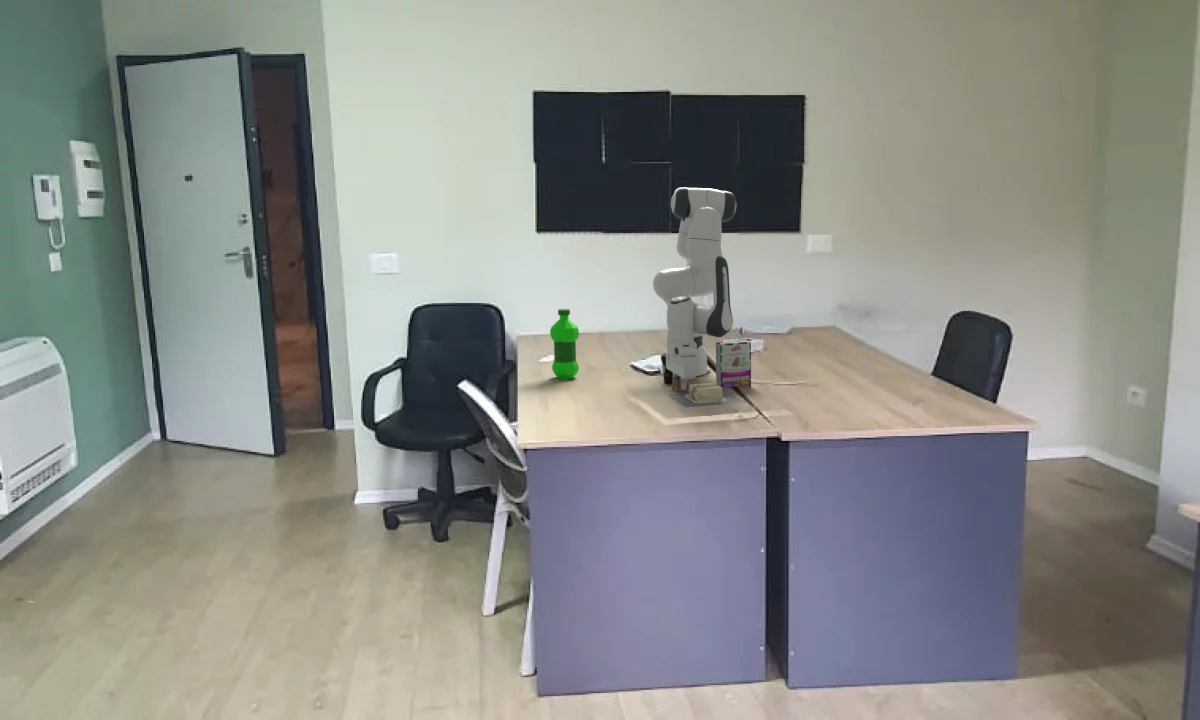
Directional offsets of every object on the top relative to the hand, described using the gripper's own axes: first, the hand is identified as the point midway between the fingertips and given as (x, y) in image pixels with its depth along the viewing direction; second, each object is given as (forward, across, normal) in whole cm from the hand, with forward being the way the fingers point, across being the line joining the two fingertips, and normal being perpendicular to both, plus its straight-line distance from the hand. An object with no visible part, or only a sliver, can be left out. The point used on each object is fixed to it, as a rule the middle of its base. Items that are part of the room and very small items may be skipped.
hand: (680, 387), depth 309 cm
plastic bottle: (+3, -40, -30) cm, 50 cm away
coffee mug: (+3, -21, +5) cm, 22 cm away
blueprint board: (+3, +13, +4) cm, 14 cm away
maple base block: (+1, +13, +4) cm, 14 cm away
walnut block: (+3, 0, 0) cm, 3 cm away
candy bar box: (+3, -3, +20) cm, 20 cm away
